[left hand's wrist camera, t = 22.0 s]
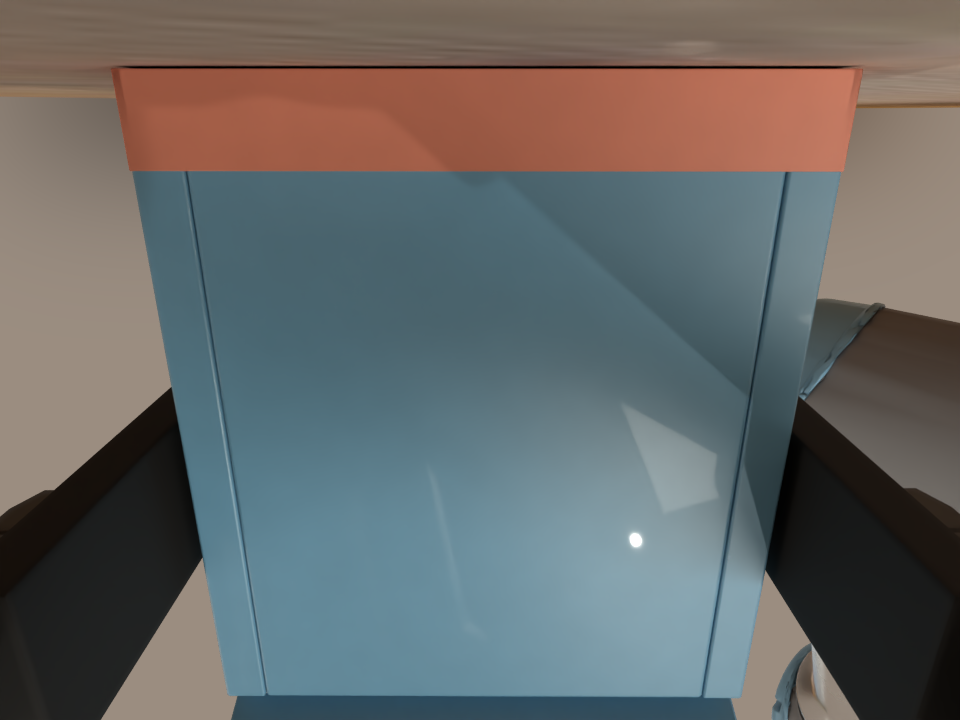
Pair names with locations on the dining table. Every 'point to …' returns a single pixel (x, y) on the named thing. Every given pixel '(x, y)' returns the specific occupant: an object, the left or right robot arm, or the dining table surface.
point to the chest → (486, 362)
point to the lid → (480, 708)
